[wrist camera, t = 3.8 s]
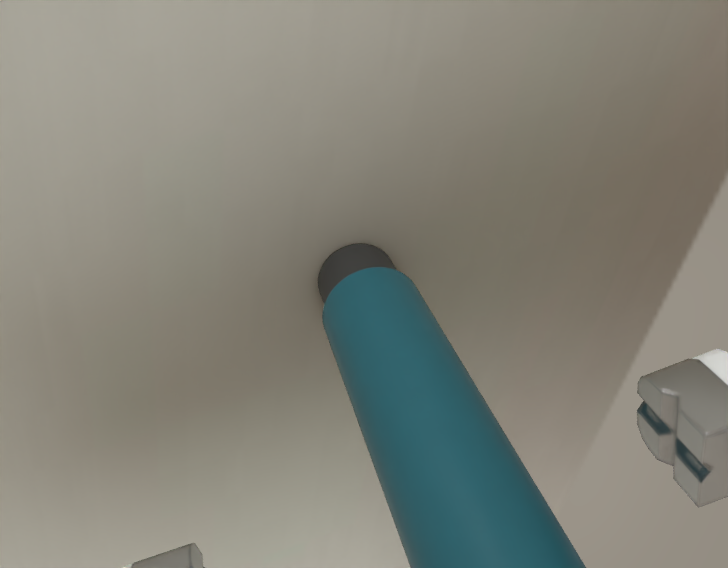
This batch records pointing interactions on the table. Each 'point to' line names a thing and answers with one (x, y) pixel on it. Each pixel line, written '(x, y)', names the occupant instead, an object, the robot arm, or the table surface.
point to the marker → (431, 427)
